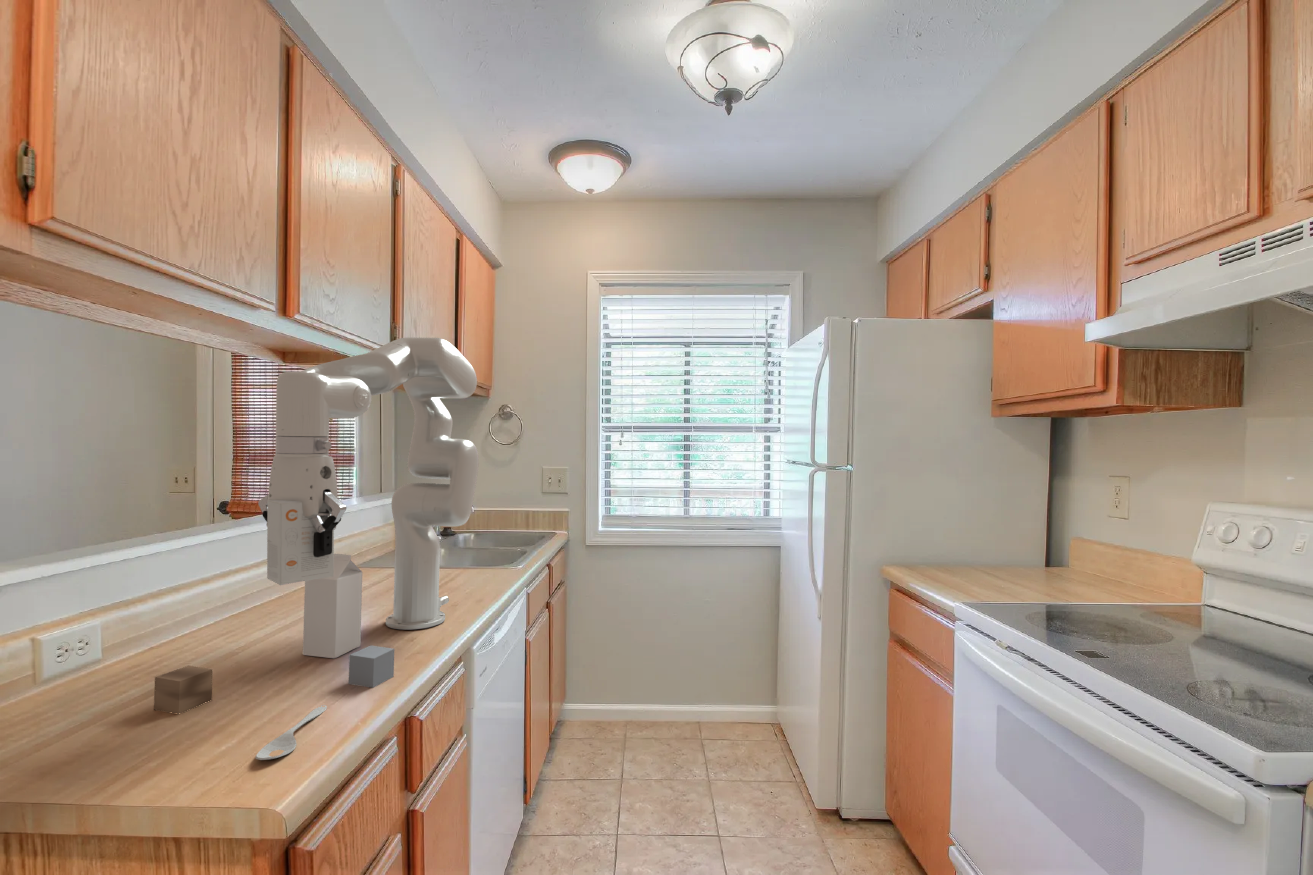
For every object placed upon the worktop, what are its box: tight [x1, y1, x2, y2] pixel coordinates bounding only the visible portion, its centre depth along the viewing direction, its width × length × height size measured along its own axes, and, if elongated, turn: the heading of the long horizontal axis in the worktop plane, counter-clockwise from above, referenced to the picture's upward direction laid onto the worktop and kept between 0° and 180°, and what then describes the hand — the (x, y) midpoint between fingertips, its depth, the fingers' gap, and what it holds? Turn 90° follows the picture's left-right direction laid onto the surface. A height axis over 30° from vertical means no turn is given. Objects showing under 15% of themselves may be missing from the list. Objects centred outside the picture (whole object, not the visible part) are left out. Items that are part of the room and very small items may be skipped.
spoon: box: [255, 704, 328, 761], centre depth 86 cm, size 4×21×2 cm, turn 6°
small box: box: [266, 500, 335, 586], centre depth 98 cm, size 8×6×13 cm
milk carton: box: [302, 553, 363, 659], centre depth 116 cm, size 7×7×19 cm
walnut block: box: [153, 665, 214, 715], centre depth 92 cm, size 5×5×5 cm
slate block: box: [348, 645, 395, 688], centre depth 103 cm, size 5×5×5 cm
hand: (300, 552), depth 98 cm, fingers closed on small box, 8 cm apart
